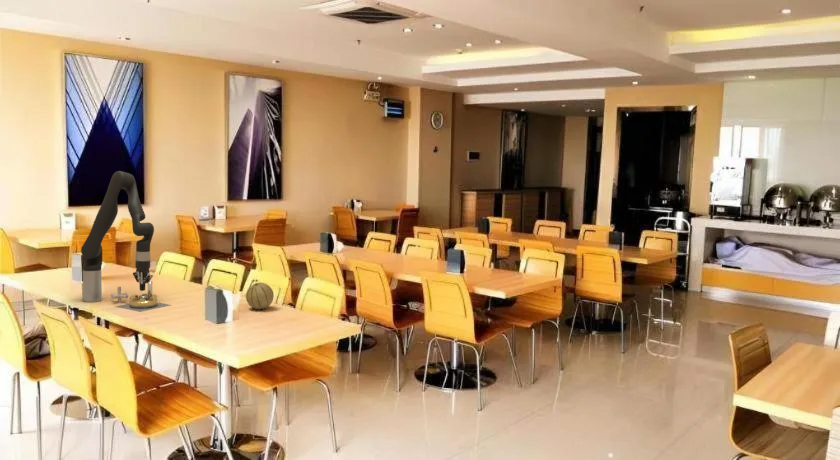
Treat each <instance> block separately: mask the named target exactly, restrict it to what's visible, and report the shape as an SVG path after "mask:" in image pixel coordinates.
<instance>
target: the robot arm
mask: <svg viewBox="0 0 840 460" xmlns="http://www.w3.org/2000/svg"><path fill="white" fill-rule="evenodd" d="M137 187H138V185H137V182H136V179H135V177H134V175H133V174H131V173H129V172H125V171H121V170H118V171H115V172H114V173H113V174H112V176H111V179H110V182H109V184H108V187H107V190H106V193H105V195H104V198H103V201H102V203H101V205H100V207H99V209H98V211H97V214H96V216H95V218H94V221H93V222H92V223H93V224H92V227H91V229H90V232H89V233H88V236H87V238H86V239H85V241H84V242H83V244H82V245H81V248H80V253H81V255H82V257H84V260H83V264H82V283H81V287H82V288H81V294H82V295H81V296H82V297H81V298H82V301H83V302H87V303H95V302H96V303H97V302H100V301H102V297H103V295H102V294H103V293H102V289H103V288H102V287H103V285H102V265H103V246H102V243H103V240H104V238H105V236H106V235H107V233H108V231H110V228H111V227H112V226H113V224H114V222H115V221H116V217H117V215H118V212H119V207H118V206H119V205H118V196H119V193H120V191H121V190H124V191H125V192H126V194H127V196H128V201H127V210H128V212H129V215H130V218H131V222H132V223H131V224H132V232H133V234H134V235H135V236H136V237H142V238H141V239H139V240H137V241H136V242H135V243H136V244H135V246H136V247H135V258H134V259H135V263H134V266H135V271H134V272H132V275H133V277H134V279H135V281H136V283H138V284H139V291H141V292H144V291H145V290H146V284H148V281H152V279H153V274H151V273H150V269H151V258H152V257H151V243H152V240H153V236H154V234H155V233H154V232H155V226H154V225H153V223H151V222H142V221H144V220H145V219H146V214H145V211H144V209H143V206H142V204H141V201H140V197H139V192H138V191H139V190H138V188H137Z"/></svg>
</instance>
